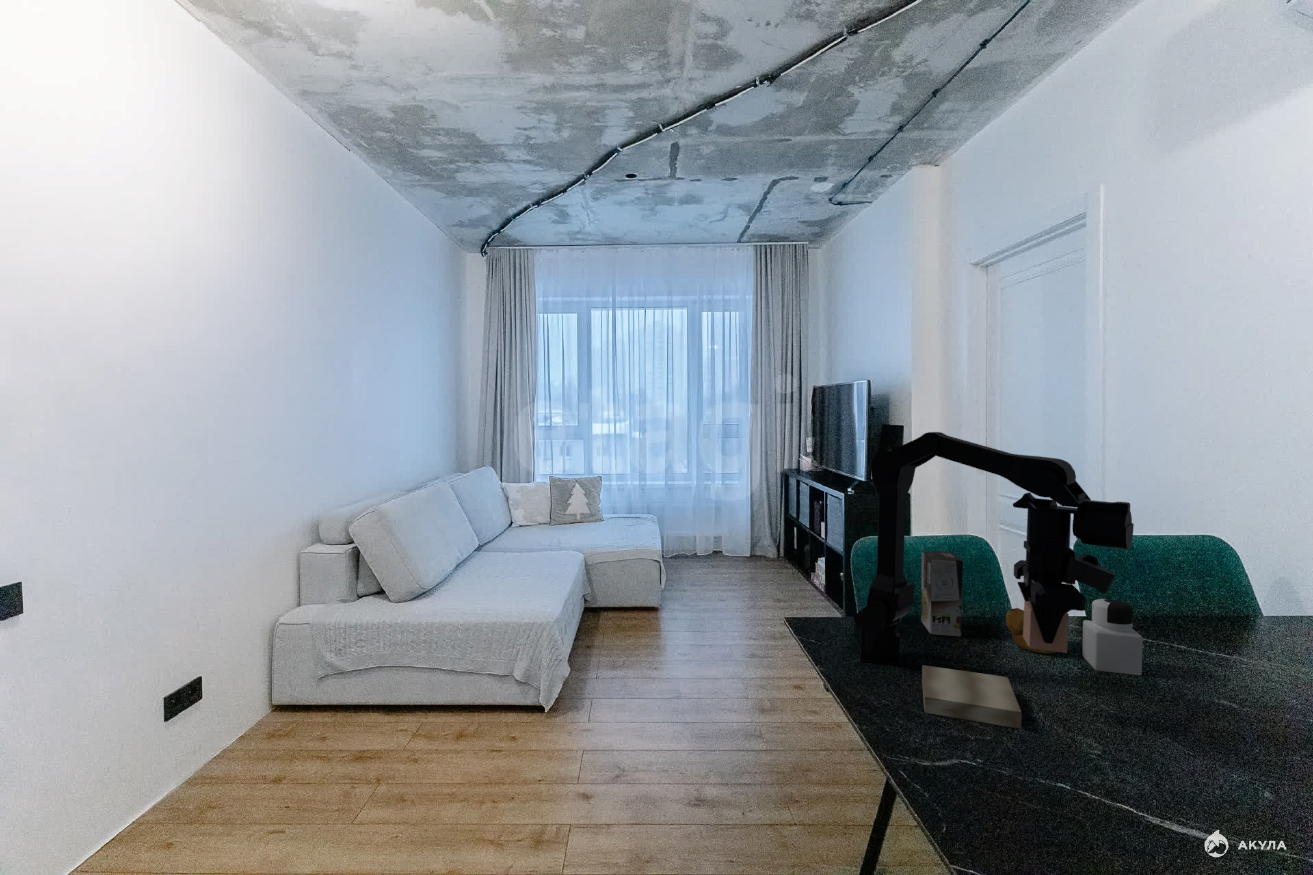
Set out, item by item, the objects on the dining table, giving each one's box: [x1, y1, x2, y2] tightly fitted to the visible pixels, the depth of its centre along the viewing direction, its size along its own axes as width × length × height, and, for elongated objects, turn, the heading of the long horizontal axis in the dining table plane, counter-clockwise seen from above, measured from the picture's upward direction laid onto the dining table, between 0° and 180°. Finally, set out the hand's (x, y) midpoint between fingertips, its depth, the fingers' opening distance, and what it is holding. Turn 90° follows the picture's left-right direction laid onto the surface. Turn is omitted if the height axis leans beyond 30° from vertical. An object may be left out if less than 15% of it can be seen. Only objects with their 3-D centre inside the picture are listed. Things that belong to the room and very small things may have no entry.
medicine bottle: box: [1081, 598, 1144, 676], centre depth 112 cm, size 7×7×12 cm
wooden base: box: [921, 664, 1022, 730], centre depth 98 cm, size 13×13×2 cm
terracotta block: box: [1023, 600, 1070, 654], centre depth 96 cm, size 5×5×6 cm
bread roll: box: [1005, 607, 1056, 655], centre depth 122 cm, size 13×10×8 cm
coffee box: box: [920, 550, 964, 637], centre depth 132 cm, size 9×6×16 cm
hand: (1044, 636), depth 96 cm, fingers closed on terracotta block, 5 cm apart
